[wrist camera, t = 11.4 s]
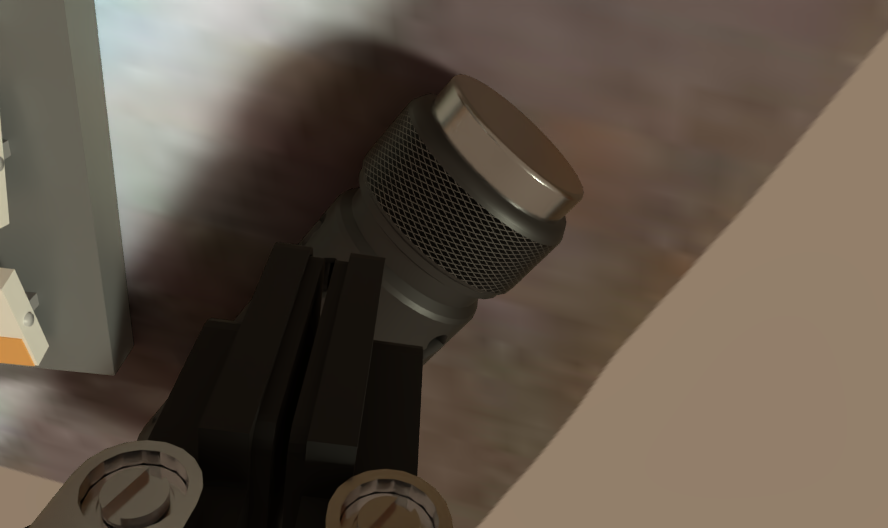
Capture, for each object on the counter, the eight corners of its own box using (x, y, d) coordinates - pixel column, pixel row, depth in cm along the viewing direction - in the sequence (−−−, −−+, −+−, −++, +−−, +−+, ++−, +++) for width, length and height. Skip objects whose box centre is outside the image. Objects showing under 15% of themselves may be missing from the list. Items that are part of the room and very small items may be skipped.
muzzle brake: (166, 373, 47) (99, 496, 38) (443, 36, 36) (440, 98, 27) (288, 444, 50) (252, 573, 41) (577, 152, 39) (615, 242, 30)
